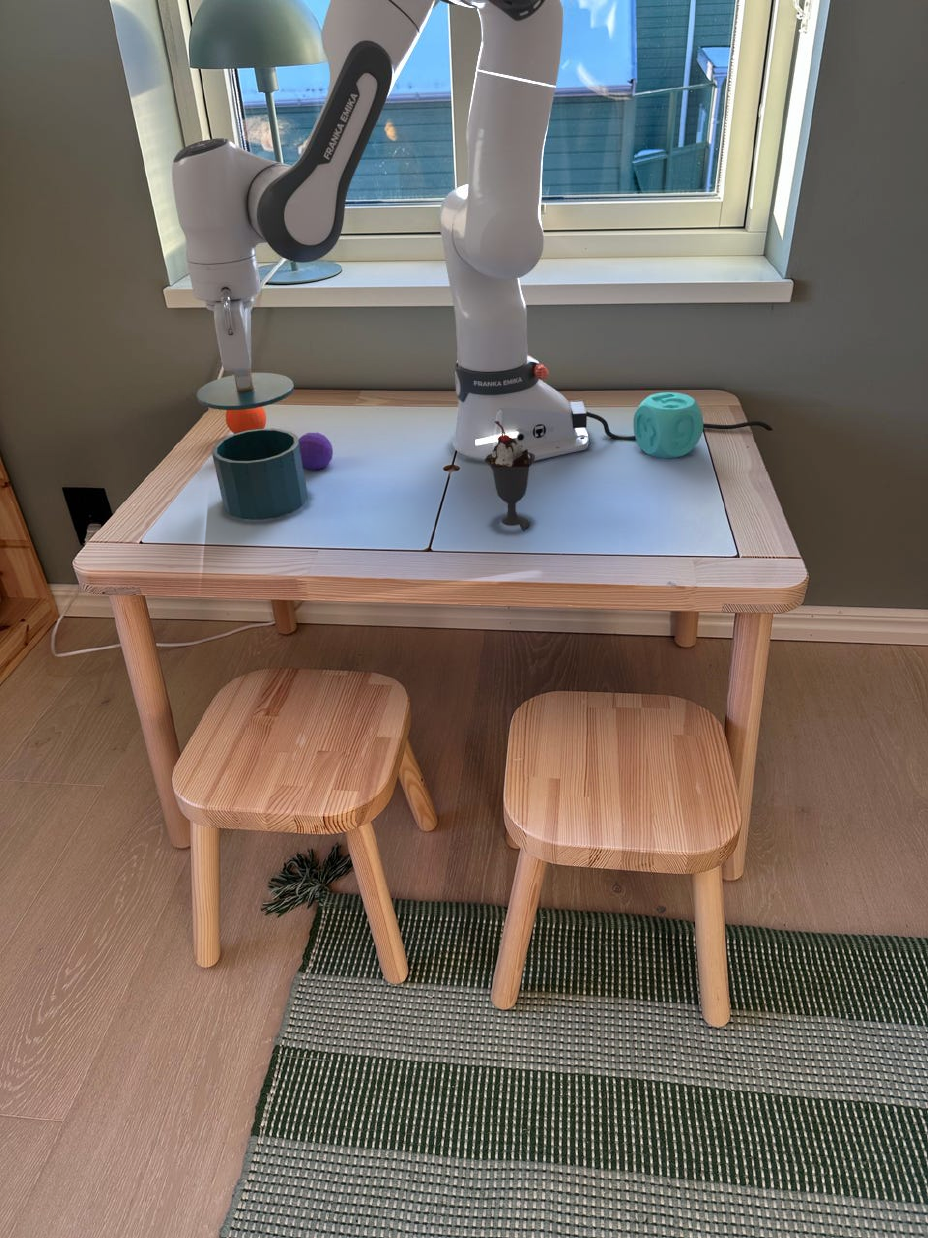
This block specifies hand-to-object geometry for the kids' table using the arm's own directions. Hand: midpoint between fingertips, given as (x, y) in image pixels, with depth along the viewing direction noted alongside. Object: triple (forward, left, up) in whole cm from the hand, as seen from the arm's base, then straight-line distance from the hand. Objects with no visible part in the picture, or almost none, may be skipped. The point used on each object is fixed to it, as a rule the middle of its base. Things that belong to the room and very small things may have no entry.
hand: (244, 382), depth 128 cm
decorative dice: (-64, -1, -19) cm, 67 cm away
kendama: (-2, -14, -19) cm, 24 cm away
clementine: (+3, -28, -19) cm, 34 cm away
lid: (0, 0, -2) cm, 2 cm away
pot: (0, 0, -19) cm, 19 cm away
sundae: (-34, +17, -19) cm, 42 cm away
